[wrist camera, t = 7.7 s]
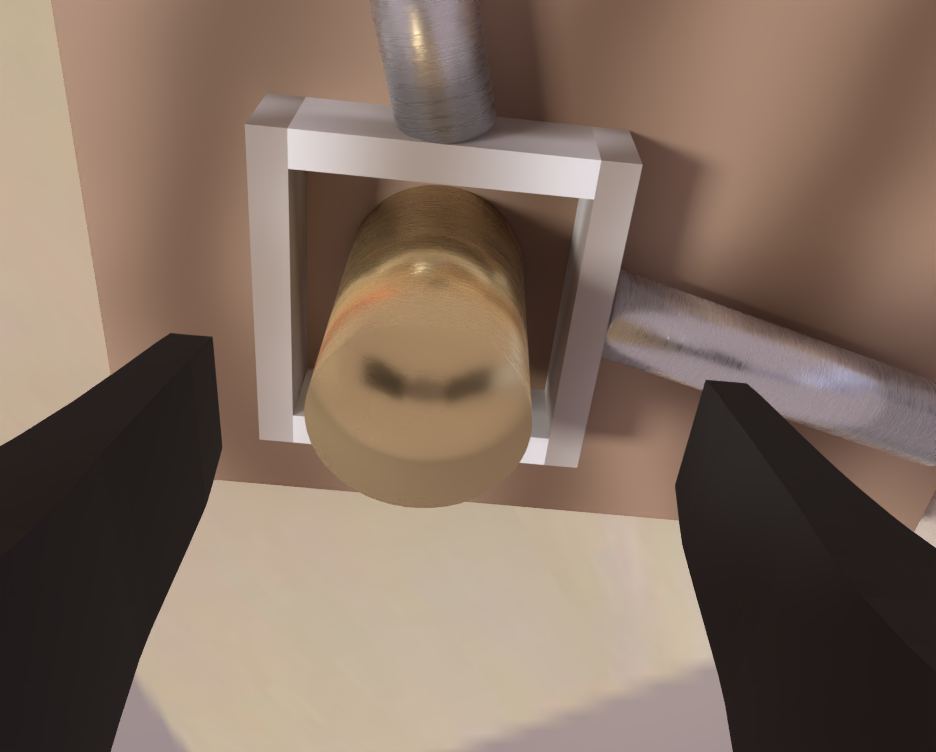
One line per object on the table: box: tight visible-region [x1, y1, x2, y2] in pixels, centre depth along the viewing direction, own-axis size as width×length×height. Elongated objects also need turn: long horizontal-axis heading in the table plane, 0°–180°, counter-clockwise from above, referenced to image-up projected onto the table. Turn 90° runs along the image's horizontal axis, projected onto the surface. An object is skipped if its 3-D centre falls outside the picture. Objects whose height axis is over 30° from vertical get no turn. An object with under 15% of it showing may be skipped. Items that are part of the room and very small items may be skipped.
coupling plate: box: [51, 0, 936, 532], centre depth 19 cm, size 22×20×4 cm
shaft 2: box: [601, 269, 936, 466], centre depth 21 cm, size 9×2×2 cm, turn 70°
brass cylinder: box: [304, 185, 532, 508], centre depth 18 cm, size 4×4×6 cm
